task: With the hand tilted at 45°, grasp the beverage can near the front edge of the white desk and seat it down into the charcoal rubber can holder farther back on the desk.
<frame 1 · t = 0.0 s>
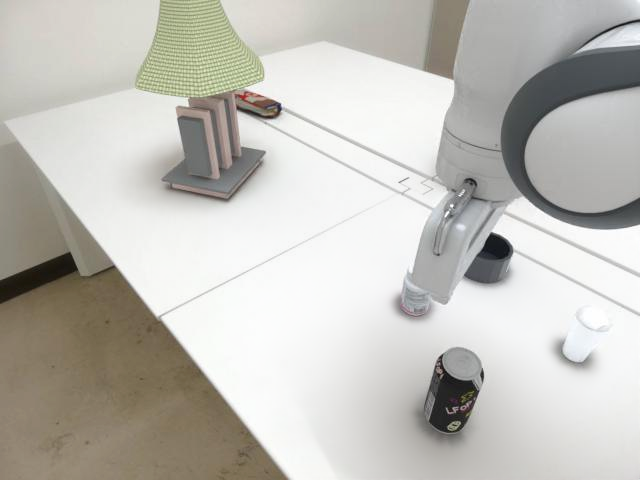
hand: (458, 271, 49), 23 cm above the table, tool pointing down, fingers open, 8 cm apart
desk lamp: (217, 175, 109), on the table
milkshake: (573, 356, 69), on the table
can holder: (481, 266, 84), on the table
beverage can: (444, 417, 61), on the table
pencil case: (253, 110, 139), on the table
planter: (482, 180, 108), on the table
pill bottle: (413, 306, 77), on the table
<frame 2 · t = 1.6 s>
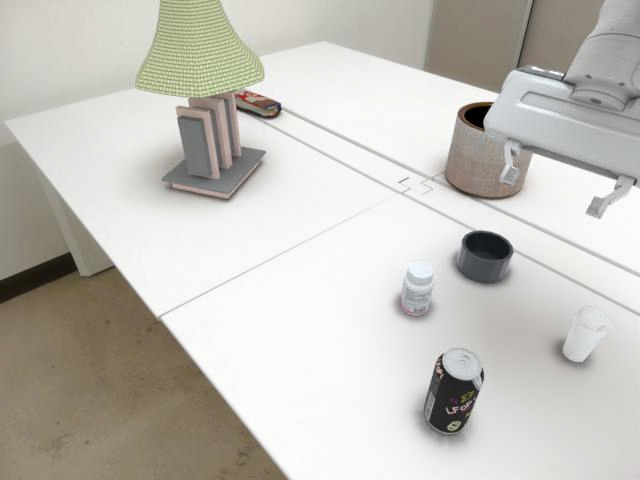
hand: (547, 198, 50), 29 cm above the table, tool tilted 45°, fingers open, 8 cm apart
nothing on the table moved.
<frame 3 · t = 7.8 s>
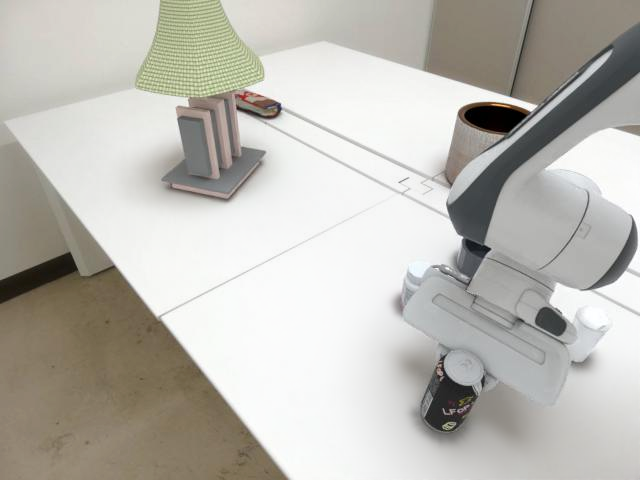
hand: (451, 392, 57), 6 cm above the table, tool tilted 45°, fingers closed on beverage can, 3 cm apart
beverage can: (440, 414, 61), on the table, touching gripper
everything else where it was.
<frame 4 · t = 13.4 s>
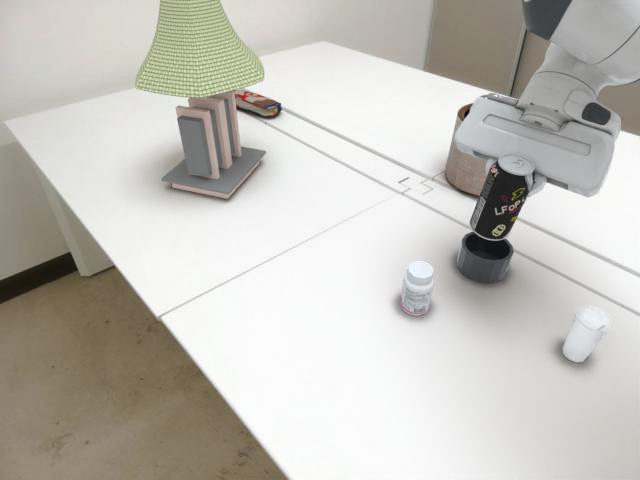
hand: (501, 199, 63), 22 cm above the table, tool tilted 45°, fingers closed on beverage can, 3 cm apart
beverage can: (487, 231, 67), point 15 cm above the table, touching gripper
everything else where it was.
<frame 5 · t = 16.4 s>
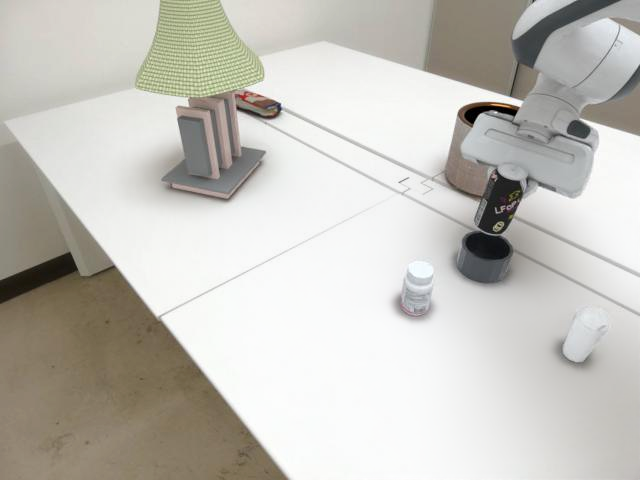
hand: (500, 200, 74), 15 cm above the table, tool tilted 45°, fingers closed on beverage can, 3 cm apart
beverage can: (489, 228, 79), point 9 cm above the table, touching gripper
everything else where it was.
when the fingers open (7 cm above the table, at t = 19.1 s): beverage can stays where it is, resting on can holder.
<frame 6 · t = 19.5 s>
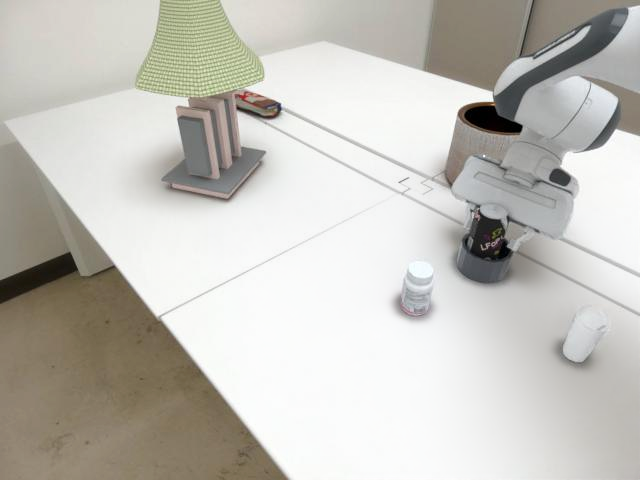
hand: (488, 239, 80), 7 cm above the table, tool tilted 45°, fingers open, 7 cm apart
beverage can: (478, 263, 84), resting on can holder
everything else where it was.
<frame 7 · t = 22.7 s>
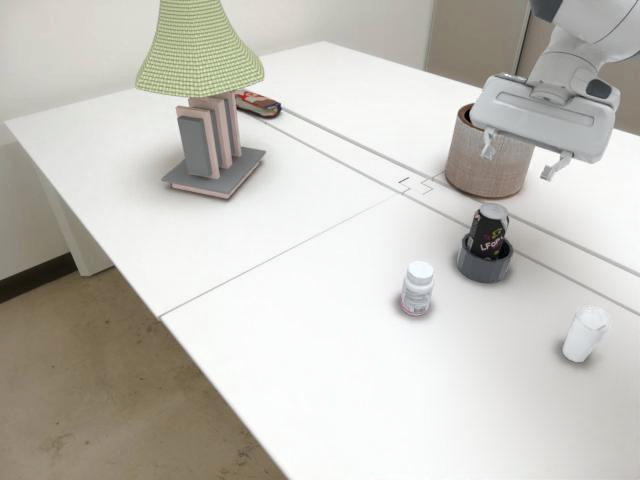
hand: (514, 168, 70), 21 cm above the table, tool tilted 45°, fingers open, 8 cm apart
nothing on the table moved.
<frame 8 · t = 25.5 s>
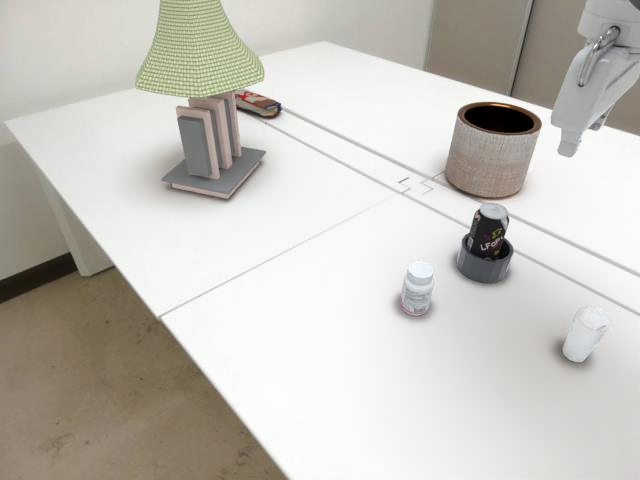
hand: (580, 140, 56), 31 cm above the table, tool pointing down, fingers open, 8 cm apart
nothing on the table moved.
at the end: beverage can 0.6 cm off-centre in the can holder, point 0.4 cm above the can holder's base; beverage can tilted 0°; the gripper is holding nothing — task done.
